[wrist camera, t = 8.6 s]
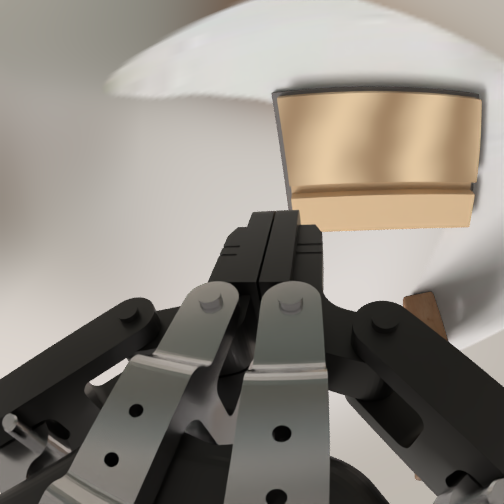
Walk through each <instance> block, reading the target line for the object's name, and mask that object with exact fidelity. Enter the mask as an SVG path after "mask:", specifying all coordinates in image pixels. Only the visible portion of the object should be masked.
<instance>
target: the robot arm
mask: <svg viewBox="0 0 504 504" xmlns="http://www.w3.org/2000/svg"><path fill="white" fill-rule="evenodd" d="M125 358H127V359H128V361H129V363H128V364H127V366H126V367H125V369H124V371H123V372H122V373H120V374H119V375H117V376H116V377H114V378H113V379H111V380H110V381H108V382H106V383H105V384H103V385H100V386H94V385H92V384H90V383H89V381H90V380H92V379H94V378H96V377H97V376H99V375H100V374H102V373H103V372H105V371H106V370H108V369H110V368H111V367H113V366H114V365H116V364H117V363H119V362H120V361H122V360H124V359H125ZM328 390H330V391H333V392H337V393H339V394H343V395H345V397H346V399H347V401H348V402H349V404H350V405H351V406H352V407H353V408H354V409H355V410H356V411H357V412H358V413H359V415H361V417H362V418H363V419H364V420H365V421H366V422H367V423H368V424H369V425H370V426H371V427H372V428H373V430H374V431H375V432H376V433H377V434H378V435H379V436H380V437H381V438H382V439H383V440H384V441H385V442H386V443H387V445H388V446H389V447H390V448H391V449H392V450H393V451H394V452H395V453H396V454H397V455H398V456H399V457H400V458H401V459H402V460H403V461H404V462H405V463H406V465H407V466H408V467H409V468H410V469H411V470H412V471H413V472H414V473H415V474H416V475H417V476H418V477H419V478H420V479H421V480H422V481H423V482H424V483H425V484H426V485H427V486H428V487H429V488H430V489H431V490H432V491H433V492H434V493H435V494H436V495H437V496H438V497H437V498H436V500H435V501H434V503H433V504H504V387H503V386H502V385H500V384H499V383H498V382H497V381H496V380H494V379H493V378H492V377H491V376H489V375H488V374H487V373H486V372H485V371H484V370H483V369H481V368H480V367H479V366H478V365H476V364H475V363H474V362H473V361H472V360H470V359H469V358H468V357H467V356H465V355H464V354H463V353H462V352H461V351H459V350H458V349H457V348H456V347H454V346H453V345H452V344H451V343H449V342H448V341H447V340H446V339H444V338H443V337H442V336H440V335H439V334H438V333H437V332H435V331H434V330H433V329H432V328H430V327H429V326H428V325H426V324H425V323H424V322H423V321H421V320H420V319H419V318H417V317H416V316H415V315H413V314H412V313H411V312H410V311H408V310H407V309H406V308H404V307H403V306H401V305H399V304H397V303H393V302H389V301H376V302H371V303H368V304H366V305H364V306H363V307H361V308H360V309H359V310H358V311H357V312H354V311H350V310H346V309H343V308H340V307H338V306H335V305H334V304H332V303H331V302H330V301H328V299H327V298H326V297H325V295H324V293H323V242H322V232H321V231H320V230H319V228H318V227H317V226H316V224H311V225H301V220H300V212H299V210H284V211H266V212H253V213H252V215H251V218H250V220H249V224H248V226H247V227H238V228H237V229H236V230H235V231H233V232H232V233H231V234H230V235H229V236H228V238H227V240H226V242H225V244H224V248H223V249H222V251H221V253H220V256H219V258H218V260H217V262H216V265H215V267H214V269H213V271H212V274H211V276H210V278H209V281H208V283H205V284H202V285H200V286H198V287H196V288H194V289H193V290H192V291H191V292H190V293H189V294H188V295H187V297H186V298H185V300H184V301H183V303H182V305H181V306H179V307H175V308H170V309H165V310H160V311H156V310H155V308H154V306H153V304H152V302H151V301H150V300H148V299H145V298H132V299H129V300H126V301H124V302H122V303H120V304H118V305H117V306H115V307H114V308H112V309H110V310H109V311H107V312H105V313H104V314H102V315H101V316H99V317H97V318H96V319H94V320H92V321H91V322H89V323H88V324H86V325H84V326H83V327H81V328H80V329H78V330H76V331H75V332H73V333H72V334H70V335H68V336H67V337H65V338H64V339H62V340H61V341H59V342H57V343H56V344H54V345H53V346H51V347H49V348H48V349H46V350H45V351H43V352H42V353H40V354H39V355H37V356H35V357H34V358H33V359H31V360H29V361H28V362H26V363H25V364H23V365H22V366H20V367H18V368H17V369H15V370H14V371H12V372H11V373H9V374H8V375H6V376H5V377H3V378H2V379H0V492H1V494H0V504H389V502H388V501H387V500H386V499H385V498H384V496H383V495H382V494H381V493H380V492H379V490H378V489H377V488H376V487H375V485H374V484H373V483H372V482H371V481H370V480H369V479H368V478H367V477H366V476H365V475H364V474H363V473H361V472H360V471H359V470H357V469H356V468H354V467H353V466H351V465H349V464H347V463H345V462H344V461H342V460H339V459H337V458H334V457H332V456H330V434H329V433H330V431H329V395H328Z"/></svg>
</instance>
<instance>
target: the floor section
mask: <svg viewBox="0 0 504 504" xmlns="http://www.w3.org/2000/svg"><path fill="white" fill-rule="evenodd" d="M347 91H402V92H424V93H438V94H449V95H459V96H468V97H475V98H477V99H479V94H476V93H468V92H460V91H450V90H440V89H427V88H409V87H337V88H319V89H305V90H294V91H284V92H275V93H272V99H273V106H274V112H275V118H276V124H277V130H278V137H279V144H280V151H281V157H282V165H283V172H284V179H285V186H286V194H287V201H288V208H289V210H299V212H300V220H301V225H311V224H316V226H317V227H318V228H319V230H320V231H321V232H331V231H356V230H382V229H383V230H385V229H416V228H454V227H469V225H470V220H471V214H472V209H473V203H474V196H475V194H474V193H473V192H472V191H473V184H474V183H473V182H371V183H342V184H321V185H303V186H289V179H288V171H287V164H286V156H285V149H284V142H283V135H282V129H281V122H280V115H279V109H278V103H277V98H278V97H279V96H287V95H298V94H310V93H325V92H347Z"/></svg>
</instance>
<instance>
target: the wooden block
mask: <svg viewBox="0 0 504 504" xmlns="http://www.w3.org/2000/svg"><path fill="white" fill-rule="evenodd" d="M403 307H404V308H406V309H407V310H408V311H410V312H411V313H412V314H413V315H415V316H416V317H417V318H419V319H420V320H421V321H423V322H424V323H425V324H426V325H428V326H429V327H430V328H432V329H433V330H434V331H435V332H437V333H438V334H439V335H440V336H442V337H443V338H444V339H446V340H447V341H448V339H447V335H446V332H445V328H444V325H443V322H442V319H441V315H440V312H439V309H438V306H437V303H436V300H435V297H434V294H433V293H432V292H426V293H421V294H416V295H410V296H406V297H404V299H403ZM415 479H416V480H419V481H422V480H421V479H420V478H419V477H418V476H417V475H416V474H415Z"/></svg>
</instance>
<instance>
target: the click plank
mask: <svg viewBox="0 0 504 504" xmlns="http://www.w3.org/2000/svg"><path fill="white" fill-rule="evenodd" d="M277 103H278V109H279V115H280V122H281V129H282V135H283V142H284V149H285V156H286V164H287V171H288V179H289V186H303V185H321V184H342V183H371V182H473V183H476V182H477V174H478V164H479V153H480V139H481V107H482V100H480V99H477V98H475V97H468V96H459V95H449V94H438V93H424V92H402V91H347V92H325V93H310V94H298V95H287V96H279V97H278V98H277Z"/></svg>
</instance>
